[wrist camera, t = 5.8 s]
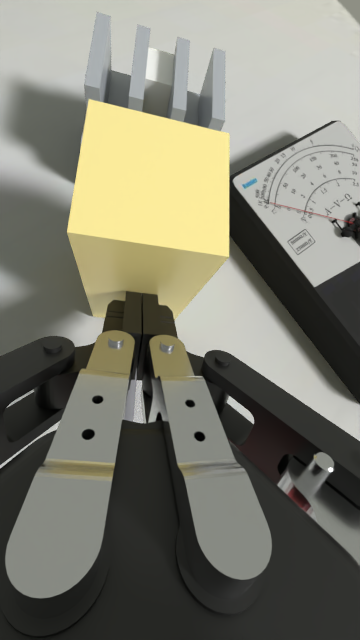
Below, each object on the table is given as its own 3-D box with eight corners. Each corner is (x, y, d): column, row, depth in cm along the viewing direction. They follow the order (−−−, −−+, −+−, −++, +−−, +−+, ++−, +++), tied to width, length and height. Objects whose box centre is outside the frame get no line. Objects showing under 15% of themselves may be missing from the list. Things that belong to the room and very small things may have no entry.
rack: (196, 210, 21) (232, 130, 15) (87, 190, 20) (72, 90, 13) (198, 146, 23) (232, 47, 16) (97, 123, 21) (88, 2, 15)
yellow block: (171, 324, 19) (229, 256, 9) (93, 316, 18) (67, 232, 8) (174, 255, 20) (229, 133, 10) (102, 244, 19) (88, 98, 9)
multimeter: (358, 409, 21) (430, 415, 16) (204, 209, 22) (228, 160, 17) (442, 314, 25) (519, 296, 20) (309, 150, 26) (351, 97, 21)
